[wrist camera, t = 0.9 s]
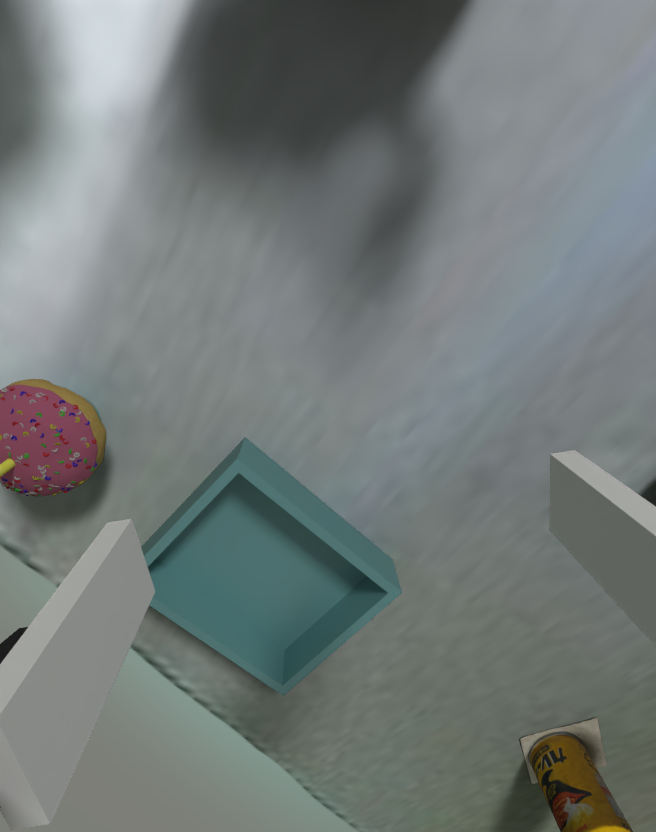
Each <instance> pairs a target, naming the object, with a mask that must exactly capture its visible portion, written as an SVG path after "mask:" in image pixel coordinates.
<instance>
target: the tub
mask: <svg viewBox="0 0 656 832" xmlns="http://www.w3.org/2000/svg"><path fill="white" fill-rule="evenodd" d="M141 549H142V552H143V555H144V558H145V561H146V564H147V567H148V570H149V573H150V576H151V579H152V582H153V585H154V589H155V593H154V596H153V598H152V600H151V602H150V604H149V605H150V606H151V607H152V608H154V609H155V610H157V611H158V612H160V613H161V614H163V615H164V616H166V617H167V618H169V619H170V620H172V621H173V622H175V623H176V624H178V625H179V626H181V627H182V628H184V629H185V630H187V631H188V632H190V633H191V634H192V635H194V636H195V637H197V638H198V639H200V640H201V641H203V642H204V643H206V644H207V645H209V646H210V647H212V648H213V649H215V650H216V651H218V652H219V653H221V654H222V655H224V656H225V657H227V658H228V659H229V660H231V661H232V662H234V663H235V664H237V665H238V666H240V667H241V668H243V669H244V670H246V671H247V672H249V673H250V674H252V675H253V676H255V677H256V678H258V679H259V680H261V681H262V682H264V683H265V684H266V685H268V686H269V687H271V688H272V689H274V690H275V691H277V692H278V693H280V694H281V695H283V696H284V695H285V694H286V693H287V692H288V691H289V690H290V689H292V688H293V687H294V686H295V685H296V684H297V683H299V682H300V681H301V680H302V679H303V678H304V677H305V676H307V675H308V674H309V673H310V672H311V671H312V670H313V669H315V668H316V667H317V666H318V665H319V664H320V663H322V662H323V661H324V660H325V659H326V658H327V657H328V656H330V655H331V654H332V653H333V652H334V651H335V650H337V649H338V648H339V647H340V646H341V645H342V644H343V643H345V642H346V641H347V640H348V639H349V638H350V637H351V636H353V635H354V634H355V633H356V632H357V631H358V630H360V629H361V628H362V627H363V626H364V625H365V624H366V623H368V622H369V621H370V620H371V619H372V618H373V617H374V616H376V615H377V614H378V613H379V612H380V611H381V610H383V609H384V608H385V607H386V606H387V605H388V604H389V603H391V602H392V601H393V600H394V599H395V598H396V597H397V596H399V595H400V594H401V593H402V591H401V587H400V584H399V580H398V577H397V573H396V570H395V567H394V563H393V560H392V559H391V558H390V557H389V556H387V555H386V554H385V553H384V552H383V551H381V550H380V549H379V548H378V547H377V546H375V545H374V544H373V543H372V542H371V541H369V540H368V539H367V538H366V537H365V536H363V535H362V534H361V533H360V532H359V531H357V530H356V529H355V528H354V527H353V526H351V525H350V524H349V523H348V522H346V521H345V520H344V519H343V518H342V517H340V516H339V515H338V514H337V513H336V512H334V511H333V510H332V509H331V508H330V507H328V506H327V505H326V504H325V503H324V502H322V501H321V500H320V499H319V498H318V497H316V496H315V495H314V494H313V493H312V492H310V491H309V490H308V489H307V488H306V487H304V486H303V485H302V484H301V483H300V482H298V481H297V480H296V479H295V478H294V477H292V476H291V475H290V474H289V473H288V472H286V471H285V470H284V469H283V468H282V467H280V466H279V465H278V464H277V463H275V462H274V461H273V460H272V459H271V458H269V457H268V456H267V455H266V454H265V453H263V452H262V451H261V450H260V449H259V448H257V447H256V446H255V445H254V444H253V443H251V442H250V441H249V440H248V439H247V438H244V439H243V440H242V441H241V442H240V443H239V445H238V446H237V447H236V448H235V449H234V450H233V451H232V452H231V453H230V454H229V455H228V456H227V457H226V458H225V459H224V460H223V461H222V462H221V464H220V465H219V466H218V467H217V468H216V469H215V470H214V471H213V472H212V473H211V474H210V475H209V476H208V477H207V478H206V479H205V480H204V481H203V483H202V484H201V485H200V486H199V487H198V488H197V489H196V490H195V491H194V492H193V493H192V494H191V495H190V496H189V497H188V498H187V499H186V500H185V502H184V503H183V504H182V505H181V506H180V507H179V508H178V509H177V510H176V511H175V512H174V513H173V514H172V515H171V516H170V517H169V518H168V519H167V521H166V522H165V523H164V524H163V525H162V526H161V527H160V528H159V529H158V530H157V531H156V532H155V533H154V534H153V535H152V536H151V537H150V538H149V540H148V541H147V542H146V543H145V544H144V545H143V546H142V547H141Z"/></svg>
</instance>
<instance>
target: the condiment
mask: <svg viewBox="0 0 656 832" xmlns="http://www.w3.org/2000/svg"><path fill="white" fill-rule="evenodd" d="M577 734H578V736H577ZM580 735H582V736H580ZM520 741H521V745H522V749H523V753H524V757H525V761H526V764H527V768H528V772H529V775H530V779H531V783H532V784H535V783H538V782H539V784H540V787H541V789H542V791H543V793H544V795H545V798H546V800H547V802H548V805H549V806H550V809H551V811H552V813H553V815H554V818H555V820H556V822H557V825H558V827H559V829H560V831H561V832H633V831H632V829H631V828H630V826H629V824H628V822H627V821H626V819H625V817H624V815H623V813H622V812H621V810H620V809H619V807H618V805H617V803H616V802H615V800H614V798H613V797H612V795H611V793H610V791H609V790H608V788H607V786H606V784H605V783H604V780H603V778H602V777H601V776H600V774H599V772H598V770H597V769H596V768H600V767H603V766H607V764H606V760H605V756H604V751H603V747H602V741H601V737H600V730H599V726H598V719H597V718H594V719H591V720H588V721H583V722H581V723H577V724H572V725H570V726H565V727H560V728H554V729H551V730H548V731H543V732H540V733H536V734H533V735H529V736H526V737H523V738H521V739H520Z"/></svg>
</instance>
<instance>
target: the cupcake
mask: <svg viewBox="0 0 656 832" xmlns="http://www.w3.org/2000/svg"><path fill="white" fill-rule="evenodd" d="M105 443H106V430H105V427H104V425H103V424H102V422H101V418H100V415H99V413H98V411H97V410H96V408H95V407H94V406H93V405H92V404H91V403H90V402H89V401H88V400H86V399H85V398H83V397H81V396H79V395H77V394H75V393H74V392H72V391H70V390H68V389H66V388H63V387H59V386H56V385H54V384H52V383H50V382H49V381H47V380H41V379H29V380H22V381H18V382H15V383H12V384H10V385H8V386H7V387H5V388H3V389H1V390H0V482H1V483H2V486H3V487H5V486H6V488H7V489H9V488H10V487H11V490H12V488H13V489H14V490H12V491H18V492H17V493H18V494H19V495H21V494H23V495H26V496H28V495H33V496H34V497H39V496H47V495H52V496H54V495H55V494H57V493H62V492H64V493H67V492H68V491H69V490H72V489H73V488H75V487H77V486H79V485H81V484H83V483H84V482H85V481H86V480H88V479H89V477H90V476H91V475H92V474H93V473H94V471H95V470H96V469H97V467H98V466H99V465H100V464H101V463H102V461H103V458H104V452H105ZM3 484H5V485H3ZM8 487H9V488H8ZM24 493H25V494H24ZM35 495H36V496H35Z"/></svg>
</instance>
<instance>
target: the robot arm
mask: <svg viewBox="0 0 656 832" xmlns="http://www.w3.org/2000/svg"><path fill="white" fill-rule="evenodd" d="M550 531H551V532H552V533H553V535H554V536H555V537H556V538H557V539H558V540H559V541H560V542H561V543H562V544H563V545H564V547H565V548H566V549H567V550H568V551H569V552H570V553H571V554H572V555H573V556H574V558H575V559H576V560H577V561H578V562H579V563H580V564H581V565H582V566H583V567H584V568H585V570H586V571H587V572H588V573H589V574H590V575H591V576H592V577H593V578H594V579H595V580H596V582H597V583H598V584H599V585H600V586H601V587H602V588H603V589H604V590H605V591H606V592H607V594H608V595H609V596H610V597H611V598H612V599H613V600H614V601H615V602H616V603H617V605H618V606H619V607H620V608H621V609H622V610H623V611H624V612H625V613H626V614H627V615H628V617H629V618H630V619H631V620H632V621H633V622H634V623H635V624H636V625H637V626H638V627H639V629H640V630H641V631H642V632H643V633H644V634H645V635H646V636H647V637H648V638H649V639H650V641H651V642H652V643H653V644H654V645H655V646H656V506H654V505H653V504H651V503H650V502H649V501H647V500H646V499H644V498H643V497H641V496H640V495H638V494H637V493H636V492H634V491H633V490H631V489H630V488H628V487H627V486H625V485H624V484H623V483H621V482H620V481H618V480H617V479H615V478H614V477H613V476H611V475H610V474H608V473H607V472H605V471H604V470H602V469H601V468H600V467H598V466H597V465H595V464H594V463H592V462H591V461H590V460H588V459H587V458H585V457H584V456H582V455H581V454H579V453H578V452H577V451H575V450H573V451H566V452H560V453H553V454H550ZM154 593H155V589H154V585H153V582H152V579H151V576H150V573H149V570H148V567H147V564H146V561H145V558H144V555H143V552H142V549H141V545H140V542H139V539H138V536H137V533H136V530H135V527H134V524H133V521H132V519H128V520H121V521H115V522H108V523H107V524H106V525H105V527H104V528H103V529H102V531H101V532H100V533H99V535H98V536H97V537H96V538H95V540H94V541H93V542H92V544H91V545H90V546H89V548H88V549H87V550H86V552H85V553H84V554H83V556H82V557H81V558H80V560H79V561H78V562H77V564H76V565H75V566H74V568H73V569H72V570H71V571H70V573H69V574H68V575H67V577H66V578H65V579H64V581H63V582H62V583H61V585H60V586H59V587H58V589H57V590H56V591H55V593H54V594H53V595H52V597H51V598H50V599H49V601H48V602H47V603H46V605H45V606H44V607H43V609H42V610H41V611H40V613H39V614H38V615H37V617H36V618H35V619H34V620H33V622H32V623H31V625H30V626H29V627H25V628H19V629H18V630H17V631H16V632H14V633H13V634H12V635H11V636H9V637H8V638H7V639H6V640H5V641H3V642H2V643H1V644H0V811H1V813H2V815H3V817H4V819H5V820H6V822H7V824H8V826H9V827H10V829H11V830H13V829H20V828H26V827H32V826H39V825H45V824H50V823H51V821H52V818H53V816H54V814H55V812H56V810H57V807H58V805H59V803H60V801H61V798H62V796H63V794H64V792H65V790H66V787H67V785H68V783H69V781H70V779H71V776H72V774H73V772H74V770H75V767H76V765H77V763H78V761H79V759H80V757H81V754H82V752H83V750H84V748H85V746H86V743H87V741H88V739H89V736H90V735H91V732H92V730H93V728H94V726H95V724H96V721H97V719H98V717H99V715H100V712H101V710H102V708H103V706H104V703H105V701H106V699H107V697H108V695H109V693H110V690H111V688H112V686H113V684H114V681H115V679H116V677H117V675H118V673H119V670H120V668H121V666H122V664H123V662H124V660H125V657H126V655H127V653H128V651H129V649H130V646H131V644H132V642H133V640H134V637H135V635H136V633H137V631H138V629H139V626H140V624H141V622H142V620H143V618H144V615H145V613H146V611H147V609H148V607H149V604H150V602H151V600H152V598H153V596H154Z"/></svg>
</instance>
